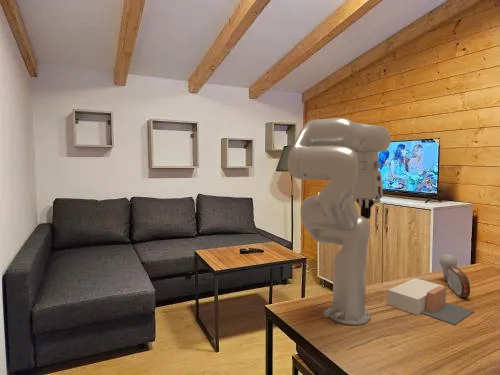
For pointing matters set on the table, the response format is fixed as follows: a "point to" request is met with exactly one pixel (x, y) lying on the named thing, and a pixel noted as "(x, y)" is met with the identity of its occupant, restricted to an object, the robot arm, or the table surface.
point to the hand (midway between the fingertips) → (365, 218)
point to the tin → (458, 282)
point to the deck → (411, 295)
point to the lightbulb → (447, 263)
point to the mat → (449, 313)
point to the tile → (436, 299)
